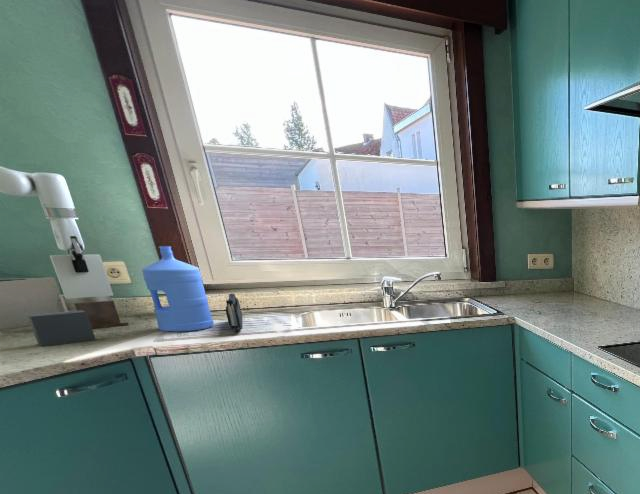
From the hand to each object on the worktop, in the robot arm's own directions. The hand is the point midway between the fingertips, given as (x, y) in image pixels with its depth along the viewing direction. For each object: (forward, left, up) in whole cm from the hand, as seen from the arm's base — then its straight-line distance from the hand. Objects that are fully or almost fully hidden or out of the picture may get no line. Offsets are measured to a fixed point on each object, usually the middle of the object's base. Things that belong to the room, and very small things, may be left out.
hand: (81, 271), depth 169 cm
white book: (0, 0, -9) cm, 9 cm away
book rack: (0, +2, -19) cm, 19 cm away
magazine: (+30, -34, -19) cm, 49 cm away
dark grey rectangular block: (-13, -24, -19) cm, 33 cm away
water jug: (+18, -24, -19) cm, 35 cm away
